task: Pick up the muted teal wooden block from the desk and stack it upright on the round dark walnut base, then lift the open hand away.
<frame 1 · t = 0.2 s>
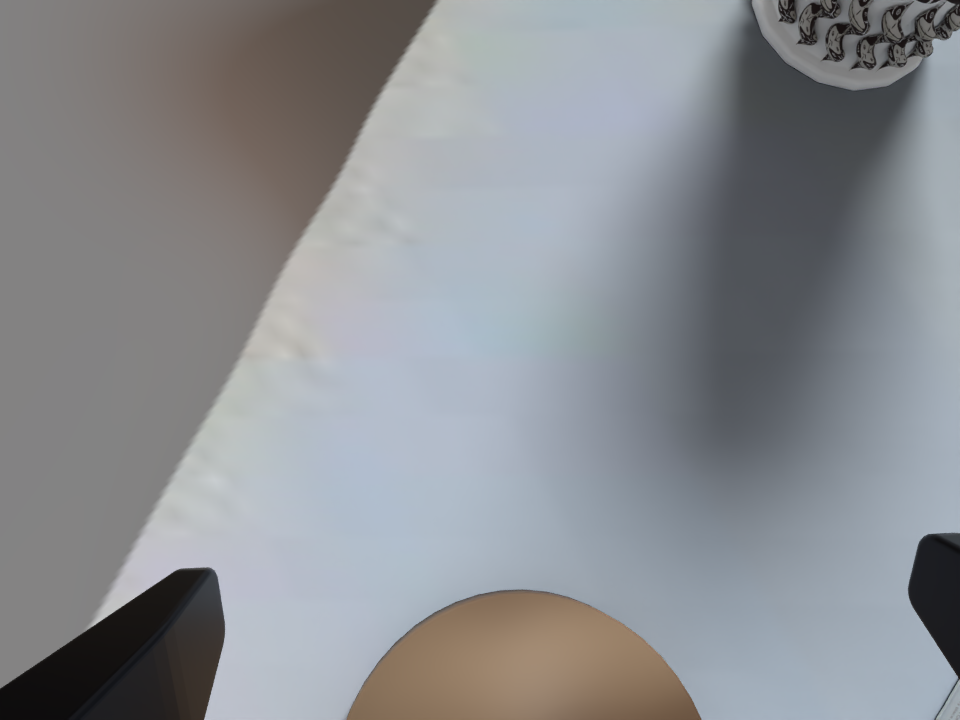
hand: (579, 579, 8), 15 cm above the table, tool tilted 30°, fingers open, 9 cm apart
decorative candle: (839, 13, 29), on the table
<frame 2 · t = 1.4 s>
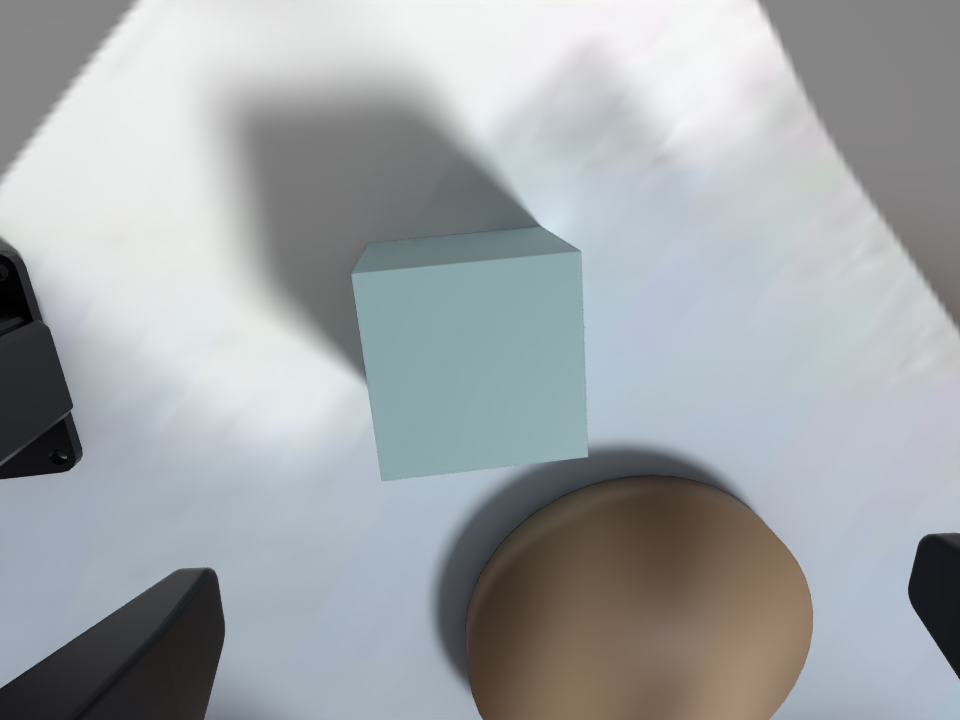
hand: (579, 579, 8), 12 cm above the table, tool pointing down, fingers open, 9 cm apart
teal block: (463, 317, 19), on the table
walnut base: (629, 623, 23), on the table
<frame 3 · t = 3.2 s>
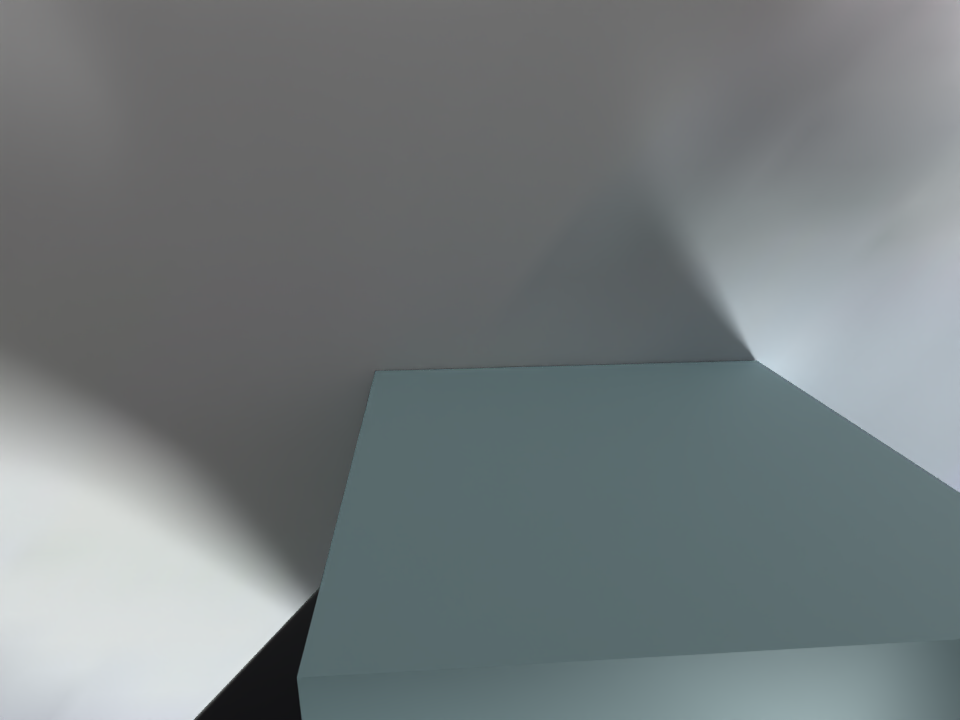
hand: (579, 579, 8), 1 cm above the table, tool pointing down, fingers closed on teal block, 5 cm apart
teal block: (562, 532, 9), on the table, touching gripper
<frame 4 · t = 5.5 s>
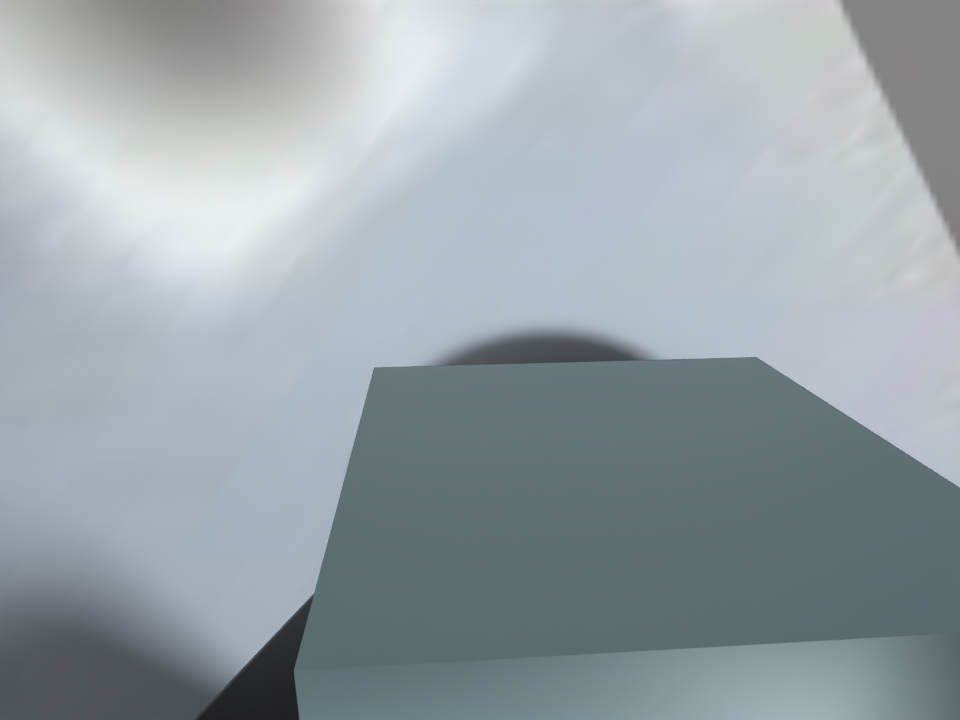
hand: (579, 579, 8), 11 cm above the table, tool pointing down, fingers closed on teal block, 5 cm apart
teal block: (562, 529, 9), point 10 cm above the table, touching gripper
when the fingers open (4 cm above the table, at t = 8.1 s): teal block drops 1 cm, resting on walnut base.
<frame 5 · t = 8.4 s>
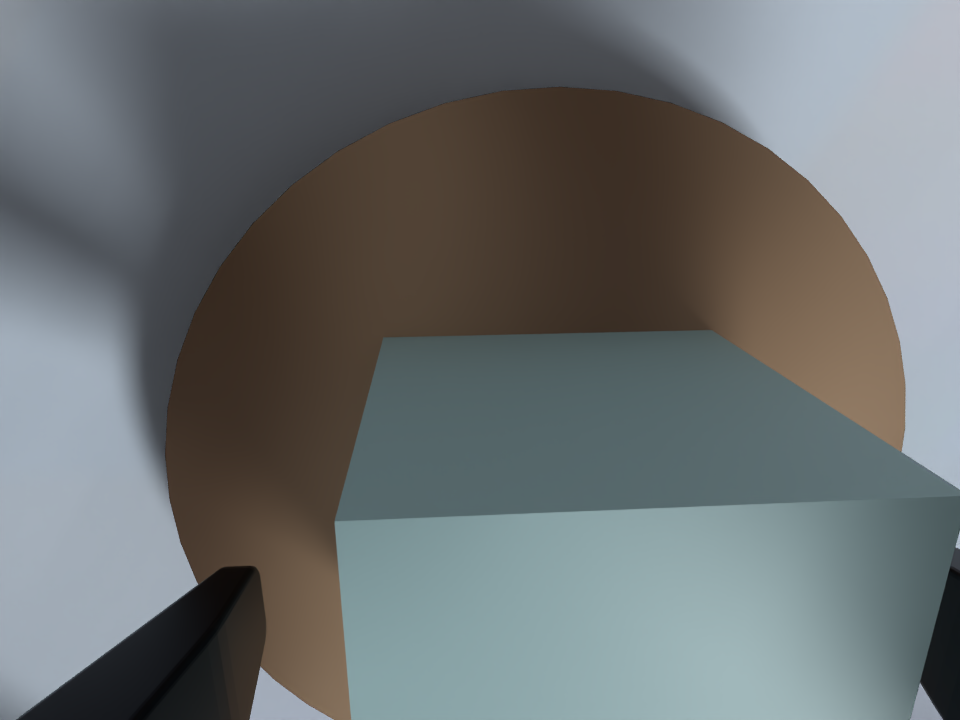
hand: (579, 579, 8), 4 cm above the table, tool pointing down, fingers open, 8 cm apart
teal block: (545, 481, 10), point 1 cm above the table, touching walnut base
walnut base: (533, 444, 12), on the table
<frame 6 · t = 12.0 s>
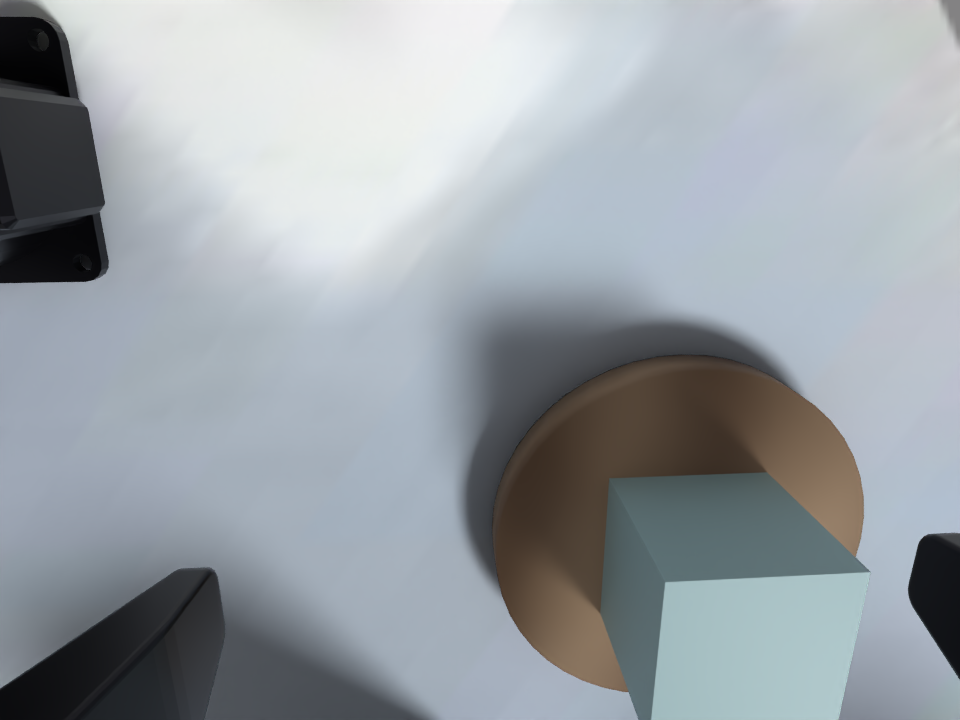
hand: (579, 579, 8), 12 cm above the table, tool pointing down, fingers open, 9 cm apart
teal block: (681, 544, 21), point 1 cm above the table, touching walnut base
walnut base: (665, 520, 22), on the table
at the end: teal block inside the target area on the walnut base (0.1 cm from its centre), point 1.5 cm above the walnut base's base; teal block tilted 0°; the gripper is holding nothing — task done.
